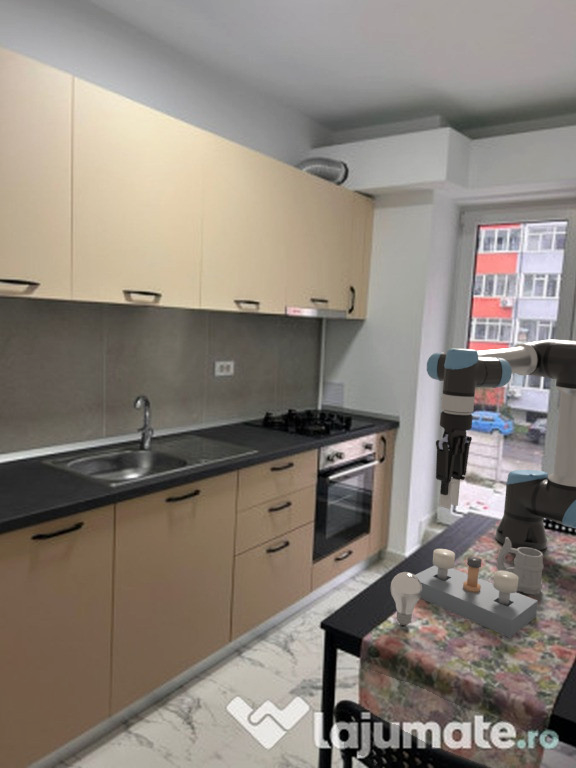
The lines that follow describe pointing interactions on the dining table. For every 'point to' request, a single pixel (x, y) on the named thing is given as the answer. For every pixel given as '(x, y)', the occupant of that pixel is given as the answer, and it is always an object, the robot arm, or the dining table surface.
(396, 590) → the light bulb
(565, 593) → the dining table surface
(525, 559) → the mug
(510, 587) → the knob
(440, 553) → the knob
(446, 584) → the panel
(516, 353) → the robot arm
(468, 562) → the ball
